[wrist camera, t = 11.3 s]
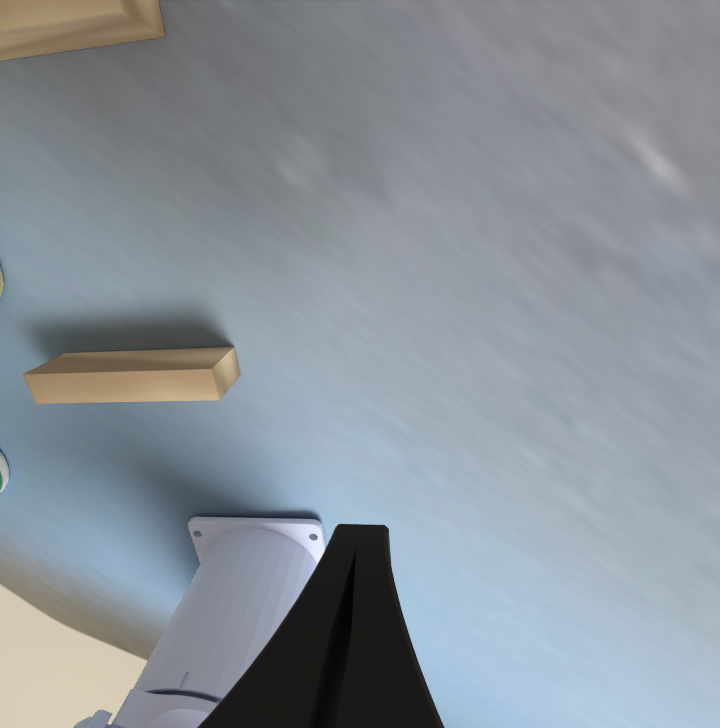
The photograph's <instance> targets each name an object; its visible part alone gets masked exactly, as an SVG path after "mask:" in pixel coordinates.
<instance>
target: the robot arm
mask: <svg viewBox="0 0 720 728" xmlns="http://www.w3.org/2000/svg"><path fill="white" fill-rule="evenodd" d="M188 529H189V532H190V535H191V538H192V541H193V544H194V547H195V550H196V553H197V556H198V559H199V562H200V565H199V567H198V569H197V571H196V573H195V575H194V577H193V578H192V580H191V582H190V584H189V586H188V588H187V590H186V591H185V593H184V595H183V597H182V599H181V601H180V603H179V604H178V606H177V608H176V610H175V612H174V614H173V615H172V617H171V619H170V621H169V623H168V625H167V627H166V628H165V630H164V632H163V634H162V636H161V638H160V640H159V641H158V643H157V645H156V647H155V649H154V651H153V653H152V654H151V656H150V658H149V660H148V662H147V664H146V666H145V667H144V669H143V671H142V673H141V675H140V677H139V679H138V680H137V682H136V684H135V686H134V688H133V689H131V690H130V692H129V694H128V696H127V698H126V700H125V701H124V703H123V705H122V706H121V708H120V710H119V712H118V713H117V715H116V717H115V719H114V721H113V722H112V724H111V725H109V724H107V723H108V721H109V719H110V717H111V715H112V713H110V712H107V711H105V710H98V711H97V712H96V713H95V714H94V715H93V717H88V718H86V719H84V720H82V721H80V722H78V723H77V724H76V725H75V726H74V728H444V726H443V723H442V721H441V719H440V716H439V714H438V712H437V709H436V707H435V704H434V702H433V699H432V697H431V694H430V692H429V689H428V687H427V684H426V682H425V679H424V676H423V673H422V671H421V668H420V665H419V663H418V660H417V657H416V654H415V651H414V648H413V645H412V642H411V639H410V636H409V633H408V630H407V627H406V623H405V620H404V617H403V613H402V610H401V606H400V602H399V598H398V594H397V590H396V586H395V582H394V578H393V573H392V567H391V556H390V542H389V529H388V528H387V527H386V526H385V525H359V524H339V525H338V526H337V527H336V528H335V530H334V532H333V535H332V537H331V539H330V541H329V543H328V545H327V547H326V548H325V542H324V535H323V529H322V525H321V523H320V522H319V521H317V520H315V519H280V518H230V517H193V518H191V520H190V521H189V523H188ZM313 534H316V535H313Z"/></svg>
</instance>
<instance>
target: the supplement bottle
mask: <svg viewBox="0 0 720 728" xmlns="http://www.w3.org/2000/svg"><path fill="white" fill-rule="evenodd" d="M8 480H9V468H8V464H7V462H6V460H5V458H4V456H3V454H2V453H1V452H0V493H1V492H2V491H3V489H4V488H5V487H6V485H7V483H8Z"/></svg>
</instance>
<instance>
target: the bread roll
mask: <svg viewBox="0 0 720 728" xmlns="http://www.w3.org/2000/svg"><path fill="white" fill-rule="evenodd" d="M3 287H4V282H3V273H2V270H1V266H0V299H1V295H2V292H3Z"/></svg>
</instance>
